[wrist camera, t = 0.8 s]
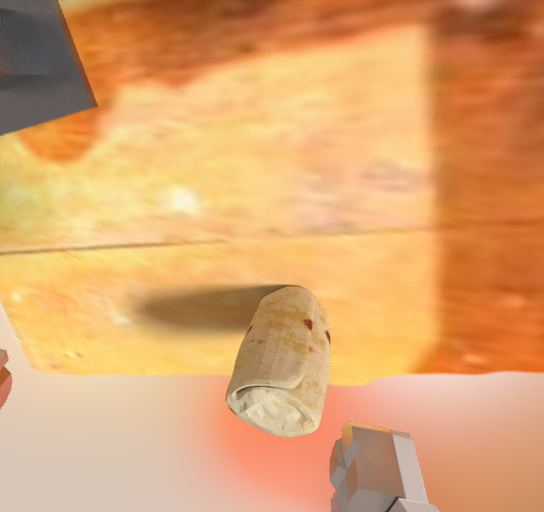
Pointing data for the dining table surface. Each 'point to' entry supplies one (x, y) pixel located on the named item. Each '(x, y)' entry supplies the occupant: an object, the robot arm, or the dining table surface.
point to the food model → (283, 365)
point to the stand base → (38, 66)
